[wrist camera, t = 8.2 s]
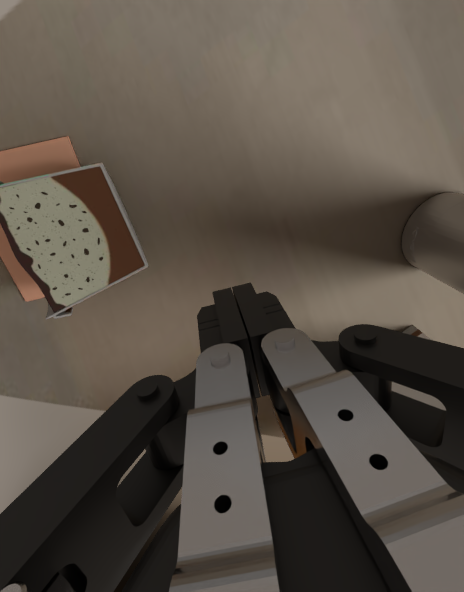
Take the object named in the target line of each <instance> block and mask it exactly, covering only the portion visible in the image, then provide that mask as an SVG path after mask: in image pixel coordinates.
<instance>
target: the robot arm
mask: <svg viewBox="0 0 464 592" xmlns="http://www.w3.org/2000/svg"><path fill="white" fill-rule="evenodd" d="M402 250H403V254H404V256H405V258H406V259H407V261H408V262H409V263H410V264H412V265H413V266H415V267H417V268H418V269H420V270H422V271H424V272H426V273H427V274H429V275H431V276H433V277H434V278H436V279H438V280H440V281H442V282H443V283H445V284H447V285H449V286H451V287H452V288H454V289H456V290H458V291H460V292H461V293H463V294H464V194H459V193H454V192H451V193H442V194H438V195H436V196H434V197H432V198H430V199H428V200H427V201H425V202H424V203H422V204H421V205H420V206H419V207H418V208H417V209H416V210H415V211H414V213H413V214H412V215H411V217H410V218H409V220H408V222H407V224H406V226H405V229H404V232H403V236H402ZM232 289H233V293H232V290H231V288H227V289H223V290H218V291H214V292H213V297H214V302H215V304H214V305H210V306H206V307H202V308H201V310H200V312H199V313H198V315H197V319H198V329H199V339H200V349H201V354H200V355H199V357H198V359H197V363H196V369H195V370H194V371H193V372H192V373H190V374H189V375H187V376H186V377H184V378H182V379H180V380H178V381H176V382H174V383H173V381H172V380H171V379H170V378H169V377H167V376H163V375H154V376H149V377H146V378H144V379H142V380H140V381H138V382H136V383H135V384H134V385H133V386H131V387H130V388H129V389H128V390H127V391H126V392H125V393H124V394H123V395H122V396H121V397H120V398H119V399H118V400H117V401H116V402H115V403H114V404H113V405H112V406H111V407H110V408H109V409H108V410H107V411H106V412H105V413H104V414H103V415H102V416H101V417H99V419H97V420H96V421H95V422H94V423H93V424H92V425H91V426H90V427H89V428H88V429H87V430H86V431H85V432H84V433H83V434H82V435H81V436H80V437H79V438H78V439H77V440H76V441H75V442H74V443H73V444H72V445H71V446H70V447H69V448H68V449H67V450H66V451H65V452H64V453H63V454H62V455H61V456H59V457H58V458H57V459H56V460H55V461H54V462H53V463H52V464H51V465H50V466H49V467H48V468H47V469H46V470H45V471H44V472H43V473H42V474H41V475H40V476H39V477H38V478H37V479H36V480H35V481H34V482H33V483H32V484H31V485H30V486H29V487H28V488H27V489H26V490H25V491H24V492H23V493H21V495H20V496H18V497H17V498H16V499H15V500H14V501H13V502H12V503H11V504H10V505H9V506H8V507H7V508H6V509H5V510H4V511H3V512H2V513H1V514H0V592H113V591H114V590H115V588H116V587H117V585H118V583H119V582H120V580H121V579H122V577H123V576H124V574H125V573H126V571H127V570H128V568H129V567H130V565H131V564H132V562H133V561H134V559H135V558H136V556H137V554H138V553H139V551H140V550H141V548H142V546H143V545H144V544H145V542H146V541H147V539H148V538H149V536H150V535H151V533H152V531H153V530H154V528H155V527H156V525H157V524H158V522H159V521H160V519H161V518H162V516H163V515H164V513H165V512H166V510H167V509H168V507H169V506H170V504H171V503H172V501H173V500H174V498H175V497H176V495H177V494H178V492H179V490H180V489H181V487H182V500H181V504H180V505H179V506H178V507H177V508H176V509H175V510H174V511H173V512H172V513H171V515H170V516H169V517H168V518H167V520H166V521H165V522H164V524H163V525H162V526H161V528H160V529H159V531H158V532H157V534H156V535H155V537H154V539H153V541H152V542H151V544H150V545H149V547H148V549H147V550H146V552H145V554H144V555H143V557H142V558H141V560H140V562H139V563H138V565H137V567H136V568H135V570H134V572H133V573H132V575H131V577H130V578H129V580H128V581H127V583H126V585H125V586H124V588H123V590H122V591H121V592H464V348H460V347H456V346H452V345H449V344H445V343H441V342H437V341H433V340H429V339H425V338H421V337H417V336H414V335H410V334H406V333H402V332H398V331H394V330H390V329H386V328H382V327H378V326H374V325H367V324H362V325H354V326H351V327H348V328H346V329H345V330H343V331H342V332H341V333H340V335H339V341H332V342H318V341H312V340H310V338H309V337H308V336H307V335H306V334H305V333H304V332H303V331H301V330H298V329H295V327H294V325H293V324H292V322H291V320H290V319H289V317H288V315H287V314H286V312H285V310H284V309H283V307H282V305H281V304H280V302H279V300H278V299H277V297H276V296H275V295H273V294H271V293H269V292H263V293H259V294H256V292H255V290H254V288H253V286H252V284H251V283H247V284H243V285H239V286H235V287H232ZM233 294H234V295H233ZM256 378H257V379H256ZM257 381H258V383H257ZM392 382H394V383H397V384H400V385H403V386H406V387H408V388H411V389H414V390H417V391H420V392H422V393H425V394H428V395H431V396H433V397H435V398H436V399H438V400H439V401H440V402H441V403H442V404H443V405H444V406H445V408H446V410H442V409H439V408H437V407H434V406H431V405H429V404H426V403H423V402H421V401H418V400H415V399H413V398H410V397H407V396H405V395H402V394H399V393H397V392H394V391H392ZM258 384H259V387H260V390H261V394H262V396H265V395H269V394H270V397H271V400H272V405H273V410H274V414H275V417H276V419H277V421H278V424H279V426H280V428H281V430H282V433H283V435H284V437H285V439H286V441H287V444H288V446H289V448H290V450H291V453H292V455H293V457H294V460H292V461H288V462H266V460H265V454H264V449H263V443H262V438H261V432H260V426H259V421H258V416H257V413H258V406H257V402H256V398H258V397H260V393H259V388H258ZM144 449H145V450H146V453H145V454H144V455H143V457H142V458H141V459H140V460H139V461H138V463H137V464H136V465H135V466H134V468H133V469H132V470H131V471H130V473H129V474H128V475H127V476H126V478H125V479H124V480H123V481H122V482H121V484H120V485H119V486H118V483H119V481H120V479H121V477H122V476H123V474H124V473H125V472H126V471H127V470H128V468H129V467H130V466H131V465H132V464H133V463H134V461H135V460H136V459H137V458H138V456H139V455H140V454H141V453H142V452H143V450H144ZM117 486H118V487H117Z"/></svg>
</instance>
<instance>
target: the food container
mask: <svg viewBox="0 0 464 592" xmlns="http://www.w3.org/2000/svg"><path fill="white" fill-rule="evenodd" d="M0 224H1V226H2V228H3V230H4V232H5V234H6V237H7V239H8V242H9V244H10V247H11V249H12V251H13V253H14V255H15V257H16V259H17V261H18V262H19V263H20V265H21V266H22V267H23V268H24V270H25V271H26V272H27V273H28V274H29V275H30V277H31V278H32V279H33V280H34V281H35V282H36V284H37V285H38V286H39V288H40V290H41V291H42V293H43V294H44V296H45V297H46V299H47V301H48V313H47V316H46V319H48V318H51V317H54V319H57V318H61V317H66V316H70V315H72V312H73V306H75V305H77V304H78V303H80V302H82V301H84V300H86V299H88V298H90V297H92V296H94V295H96V294H98V293H100V292H101V291H103V290H105V289H107V288H109V287H111V286H113V285H115V284H117V283H119V282H121V281H123V280H124V279H126V278H128V277H130V276H132V275H134V274H136V273H138V272H140V271H142V270H144V269H146V268H147V267H149V266H148V263H147V260H146V257H145V255H144V252H143V250H142V247H141V245H140V242H139V240H138V238H137V235H136V233H135V231H134V228H133V226H132V224H131V221H130V219H129V217H128V215H127V212H126V210H125V208H124V206H123V203H122V201H121V199H120V197H119V195H118V193H117V191H116V188H115V186H114V184H113V182H112V180H111V178H110V176H109V174H108V172H107V170H106V168H105V167H104V165H103V163H102V162H101V163H96V164H92V165H87V166H83V167H78V168H74V169H69V170H65V171H60V172H55V173H51V174H46V175H42V176H37V177H33V178H28V179H23V180H19V181H14V182H10V183H5V184H4V183H3V182H2V181H0Z"/></svg>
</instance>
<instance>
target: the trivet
mask: <svg viewBox="0 0 464 592" xmlns="http://www.w3.org/2000/svg"><path fill="white" fill-rule="evenodd" d="M78 167H80V164H79V162H78V159H77V157H76V154H75V151H74V149H73V146H72V144H71V141H70V139H69V136H66V137H62V138H57V139H53V140H48V141H44V142H40V143H35V144H31V145H26V146H22V147H17V148H13V149H9V150H4V151H0V181H2V182H3V183H4V184H5V183H10V182H14V181H19V180H23V179H28V178H33V177H37V176H42V175H46V174H51V173H55V172H60V171H65V170H69V169H74V168H78ZM0 257H1V259H2V260H3V262H4V264H5V266H6V267H7V269H8V271H9V273H10V275H11V276H12V278H13V280H14V282H15V283H16V285H17V287H18V289H19V290H20V292H21V294H22V296H23V297H24V299H25V301H26V302H27V301H31V300H35V299H39V298H43V297H45V296H44V294H43V293H42V291H41V290H40V288H39V286H38V285H37V284H36V282H35V281H34V280H33V279H32V278H31V277H30V275H29V274H28V273H27V272H26V271H25V270H24V268H23V267H22V266H21V265H20V263H19V262H18V261H17V259H16V257H15V255H14V253H13V251H12V249H11V247H10V244H9V242H8V239H7V237H6V234H5V232H4V230H3V228H2V226H1V224H0Z"/></svg>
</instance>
